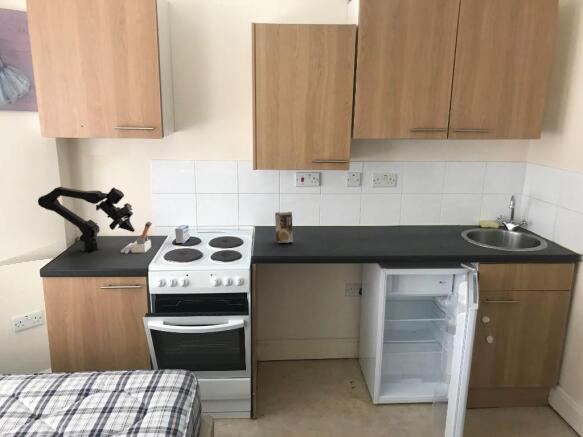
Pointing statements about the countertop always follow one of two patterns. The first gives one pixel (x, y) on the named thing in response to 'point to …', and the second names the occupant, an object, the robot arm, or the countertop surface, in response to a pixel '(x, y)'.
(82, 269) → the countertop surface
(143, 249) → the switch box
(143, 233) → the lever
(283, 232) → the coffee box
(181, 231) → the medicine box
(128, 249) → the cables
